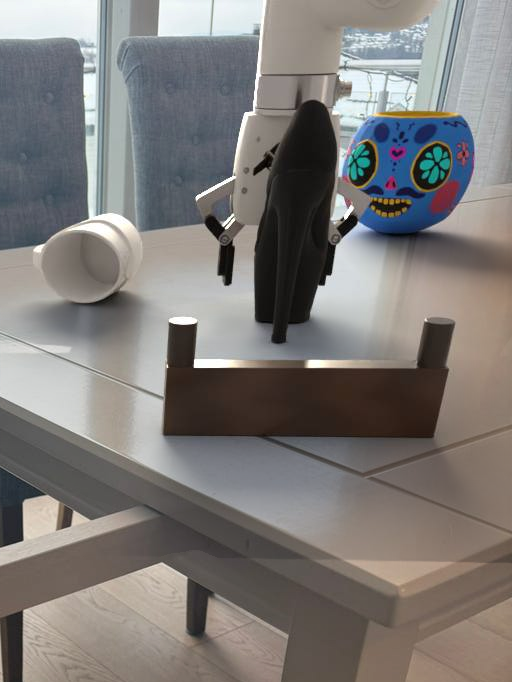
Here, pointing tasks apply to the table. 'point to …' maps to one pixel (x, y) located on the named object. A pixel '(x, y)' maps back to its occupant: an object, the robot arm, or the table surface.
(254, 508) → the table surface
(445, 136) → the ceramic pot
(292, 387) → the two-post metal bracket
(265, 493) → the table surface
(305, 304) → the high-heeled shoe
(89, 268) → the mug
